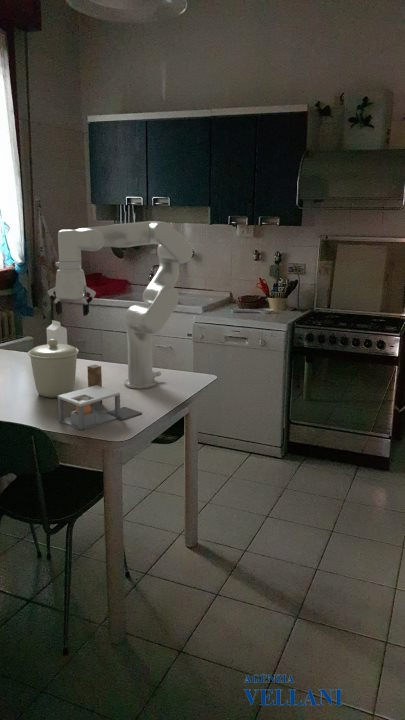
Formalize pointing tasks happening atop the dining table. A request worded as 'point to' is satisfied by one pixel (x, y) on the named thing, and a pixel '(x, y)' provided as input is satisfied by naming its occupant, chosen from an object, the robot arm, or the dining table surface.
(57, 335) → the milk
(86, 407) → the breaker button
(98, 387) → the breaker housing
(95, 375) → the brown wooden bar
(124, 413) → the pad
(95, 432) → the dining table surface
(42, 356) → the canister
